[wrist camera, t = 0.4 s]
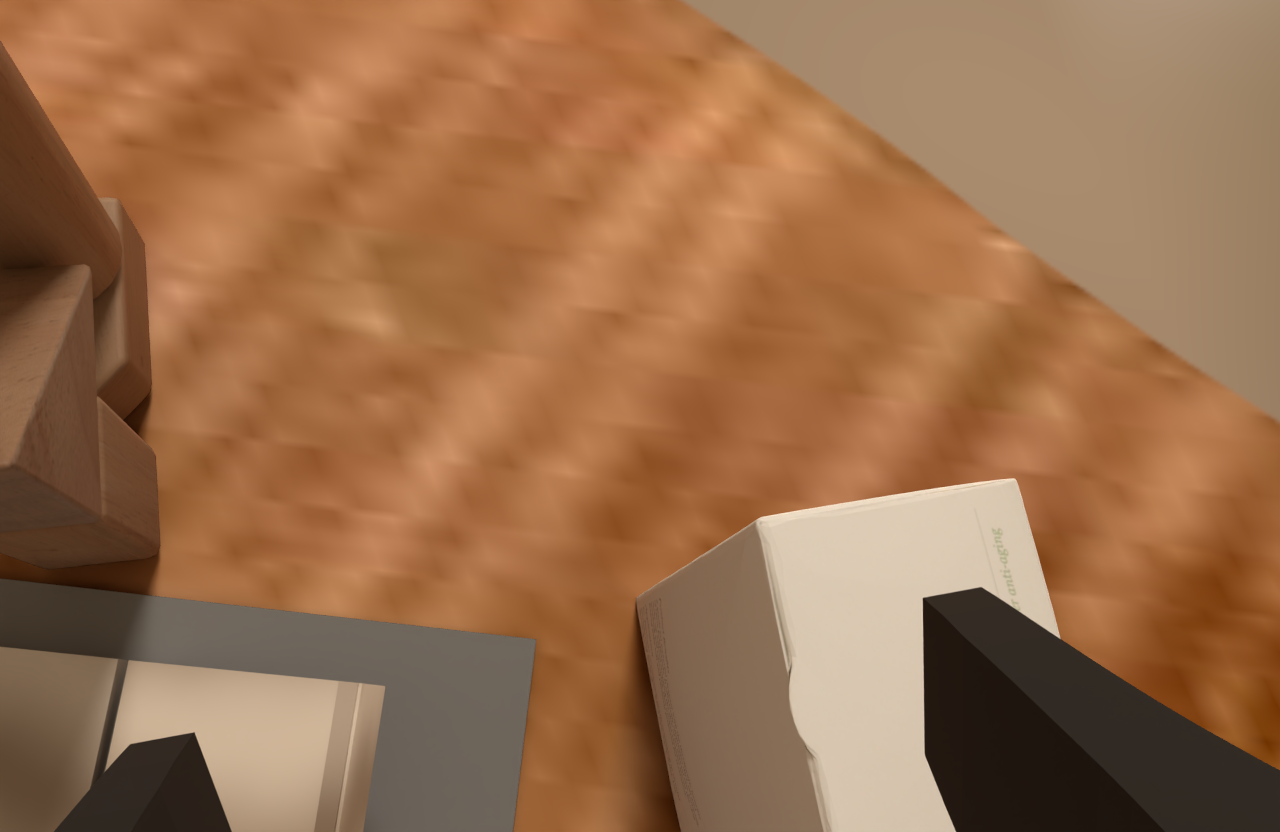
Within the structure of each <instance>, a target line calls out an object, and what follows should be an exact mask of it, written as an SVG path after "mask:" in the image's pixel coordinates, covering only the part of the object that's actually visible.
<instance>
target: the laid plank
mask: <svg viewBox="0 0 1280 832" xmlns="http://www.w3.org/2000/svg"><path fill="white" fill-rule="evenodd" d="M127 661H128V660H121V659H113V658H103V657H94V656H84V655H74V654H65V653H55V652H46V651H36V650H27V649H17V648H7V647H0V832H54V831H55V829H56V828H57V827H58V826H59V825H60V824H61V822H62V821H63V820H64V819H65V818H66V817H67V815H68V814H69V813H70V812H71V811H72V810H73V808H74V807H75V806H76V805H77V804H78V802H79V801H80V800H81V799H82V798H83V797H84V795H85V794H86V793H87V792H88V791H89V790H90V788H91V787H92V786H93V785H94V784H95V783H96V781H97V780H98V779H99V778H100V777H101V776H102V775H103V773H104V769H105V764H106V759H107V755H108V750H109V745H110V741H111V736H112V731H113V727H114V722H115V717H116V713H117V708H118V703H119V699H120V694H121V689H122V684H123V680H124V675H125V670H126V666H127Z"/></svg>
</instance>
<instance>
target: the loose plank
mask: <svg viewBox="0 0 1280 832" xmlns="http://www.w3.org/2000/svg"><path fill="white" fill-rule="evenodd" d="M384 693H385V686H380V685H372V684H364V683H354V682H344V681H334V680H323V679H313V678H303V677H293V676H283V675H273V674H263V673H253V672H243V671H233V670H223V669H213V668H203V667H192V666H182V665H172V664H162V663H152V662H142V661H132V660H129V661H128V666H127V671H126V675H125V680H124V685H123V689H122V694H121V699H120V703H119V708H118V713H117V717H116V722H115V727H114V732H113V736H112V741H111V746H110V750H109V755H108V760H107V764H106V769H105V771H106V770H107V769H108V768H109V767H110V765H111V764H112V763H113V762H114V761H115V760H116V759H117V758H118V757H119V755H120V754H121V753H122V752H123V751H124V750H125V749H126V748H127V747H128V746H129V745H130V744H133V743H139V742H144V741H149V740H155V739H160V738H166V737H171V736H176V735H182V734H187V733H193V732H195V735H196V737H197V740H198V743H199V745H200V748H201V751H202V753H203V756H204V759H205V761H206V764H207V767H208V769H209V772H210V775H211V777H212V780H213V783H214V785H215V788H216V791H217V793H218V796H219V799H220V801H221V804H222V807H223V809H224V812H225V815H226V817H227V820H228V823H229V825H230V828H231V831H232V832H363V829H364V822H365V816H366V809H367V803H368V796H369V790H370V783H371V777H372V770H373V764H374V757H375V751H376V744H377V738H378V731H379V725H380V719H381V712H382V706H383V699H384Z"/></svg>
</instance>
